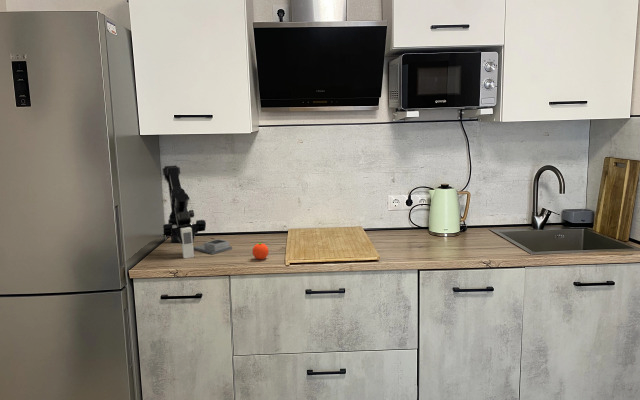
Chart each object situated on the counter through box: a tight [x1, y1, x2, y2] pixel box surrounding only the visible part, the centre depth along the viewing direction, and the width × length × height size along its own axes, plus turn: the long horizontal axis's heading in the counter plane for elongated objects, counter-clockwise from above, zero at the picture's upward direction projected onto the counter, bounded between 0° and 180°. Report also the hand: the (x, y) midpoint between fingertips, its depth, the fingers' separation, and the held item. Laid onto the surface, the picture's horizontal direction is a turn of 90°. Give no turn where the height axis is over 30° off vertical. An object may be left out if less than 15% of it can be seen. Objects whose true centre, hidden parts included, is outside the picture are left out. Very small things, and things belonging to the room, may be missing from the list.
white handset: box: [180, 227, 195, 259], centre depth 220 cm, size 5×4×13 cm
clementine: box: [252, 242, 269, 260], centre depth 212 cm, size 8×7×7 cm
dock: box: [193, 238, 233, 255], centre depth 232 cm, size 16×11×4 cm
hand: (187, 242), depth 219 cm, fingers closed on white handset, 4 cm apart
